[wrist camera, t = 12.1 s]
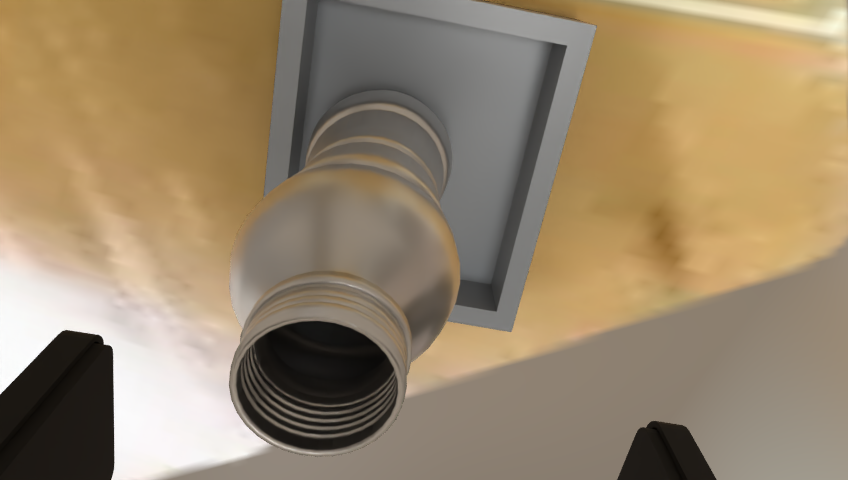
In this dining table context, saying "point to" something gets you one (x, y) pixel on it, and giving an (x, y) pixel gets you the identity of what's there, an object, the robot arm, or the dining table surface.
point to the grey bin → (447, 114)
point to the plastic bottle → (344, 278)
